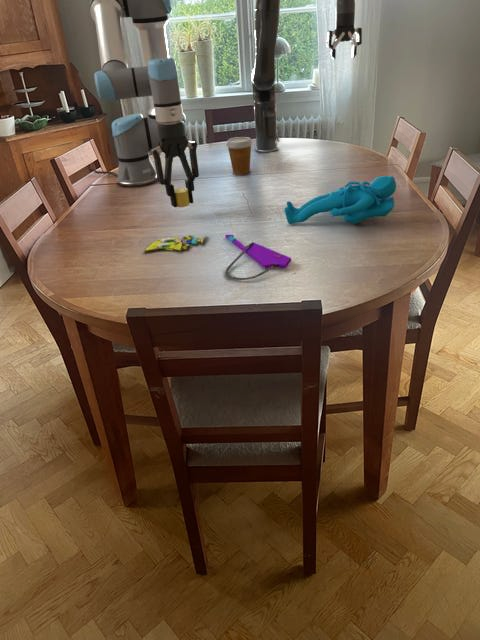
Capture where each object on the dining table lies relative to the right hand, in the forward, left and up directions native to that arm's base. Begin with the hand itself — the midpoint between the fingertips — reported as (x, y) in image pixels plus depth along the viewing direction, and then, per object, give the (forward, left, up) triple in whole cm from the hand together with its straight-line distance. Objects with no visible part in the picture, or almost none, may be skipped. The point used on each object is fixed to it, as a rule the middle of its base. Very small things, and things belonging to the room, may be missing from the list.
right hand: (343, 58), depth 199 cm
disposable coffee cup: (+32, -52, -32) cm, 69 cm away
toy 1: (+91, -82, -32) cm, 127 cm away
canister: (+71, -78, -28) cm, 109 cm away
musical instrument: (+107, -67, -32) cm, 130 cm away
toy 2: (+92, -37, -32) cm, 104 cm away
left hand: (+71, -78, -27) cm, 109 cm away
